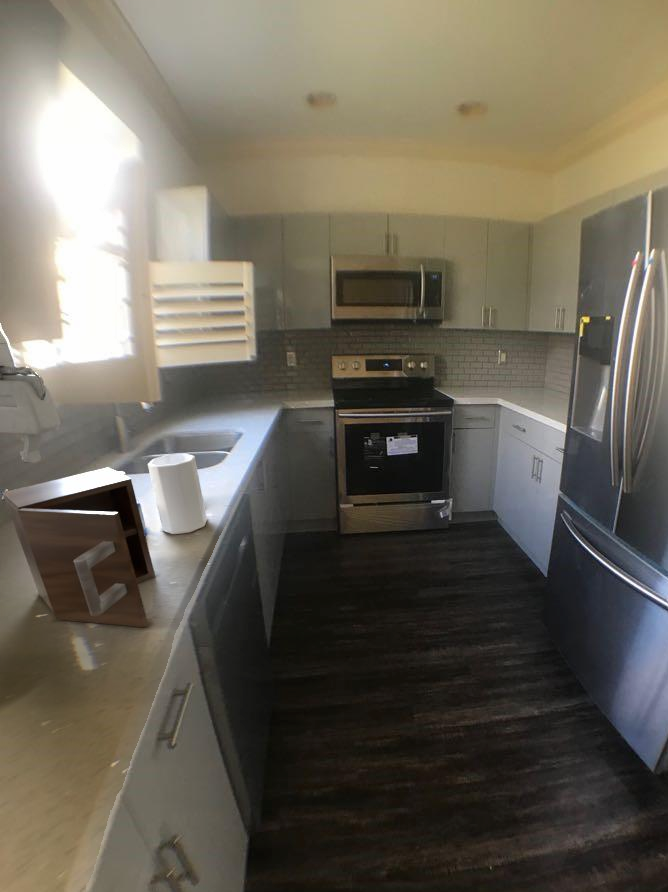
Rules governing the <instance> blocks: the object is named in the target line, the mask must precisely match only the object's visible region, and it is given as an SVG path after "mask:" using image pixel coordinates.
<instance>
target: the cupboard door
mask: <svg viewBox="0 0 668 892" xmlns="http://www.w3.org/2000/svg"><path fill="white" fill-rule="evenodd" d="M18 514H19V516H20V519H21V522H22V525H23V528H24V531H25V533H26V536H27V539H28V542H29V545H30V547H31V550H32V553H33V556H34V559H35V561H36V564H37V567H38V570H39V573H40V576H41V578H42V581H43V584H44V587H45V590H46V592H47V595H48V598H49V601H50V604H51V606H52V609H53V611H52V613H53V615H54V617H55V620H59V621H70V622H81V623H90V624H91V623H92V624H103V625H116V626H128V627H139V628H146V627H147V626H148V625H149V621H148V618H147V614H146V610H145V606H144V601H143V599H142V595H141V591H140V588H139V583H137V580H136V576H135V572H134V569H133V565H132V561H131V557H130V554H129V550H128V546H127V543H126V539H125V535H124V531H123V528H122V524H121V520H120V516H119V513H118V512H98V511H75V510H51V509H27V508H22V509H20V510H18Z"/></svg>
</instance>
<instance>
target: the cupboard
mask: <svg viewBox="0 0 668 892" xmlns="http://www.w3.org/2000/svg"><path fill="white" fill-rule="evenodd" d="M2 496H3V500H4V501H5V504H6V507H7V510H8V513H9V515H10V518H11V521H12V523H13V527H14V529H15V531H16V534H17V537H18V540H19V542H20V546H21V548H22V551H23V554H24V556H25V559H26V562H27V566H28V568H29V570H30V573H31V575H32V578H33V581H34V584H35V587H36V589H37V593H38V595H39V596H40V598H42V600H43V601H44V602H45V604H46V605H47V606H48V607H49V609H50V610H51V612H53V609H52V606H51V604H50V601H49V598H48V595H47V592H46V590H45V587H44V584H43V581H42V578H41V576H40V573H39V570H38V567H37V564H36V561H35V559H34V556H33V553H32V550H31V547H30V545H29V542H28V539H27V536H26V533H25V531H24V528H23V525H22V522H21V519H20V516H19V514H18V510H20V509H22V508H27V509H51V510H75V511H98V512H118V513H119V516H120V520H121V524H122V528H123V531H124V535H125V539H126V543H127V546H128V550H129V554H130V557H131V561H132V565H133V569H134V572H135V576H136V580H137V584H140V583H142V582H145V581H147V580H149V579H152V578H155V577H156V574H155V570H154V565H153V561H152V557H151V553H150V549H149V545H148V541H147V538H146V534H145V533H144V529H143V525H142V521H141V517H140V513H139V509H138V505H137V501H136V499H137V497H136V493H135V490H134V485H133V482H132V478H131V477H129V476H127V475H126V476H125V475H123V474H121V473H119V472H117V470H114V469H112V468H110V467H104V468H100V469H95V470H91V471H87V472H83V473H79V474H74V475H71V476H66V477H62V478H58V479H53V480H50V481H45V482H40V483H36V484H32V485H28V486H24V487H20V488H14V489H10V490H7V491H3V492H2Z"/></svg>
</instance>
